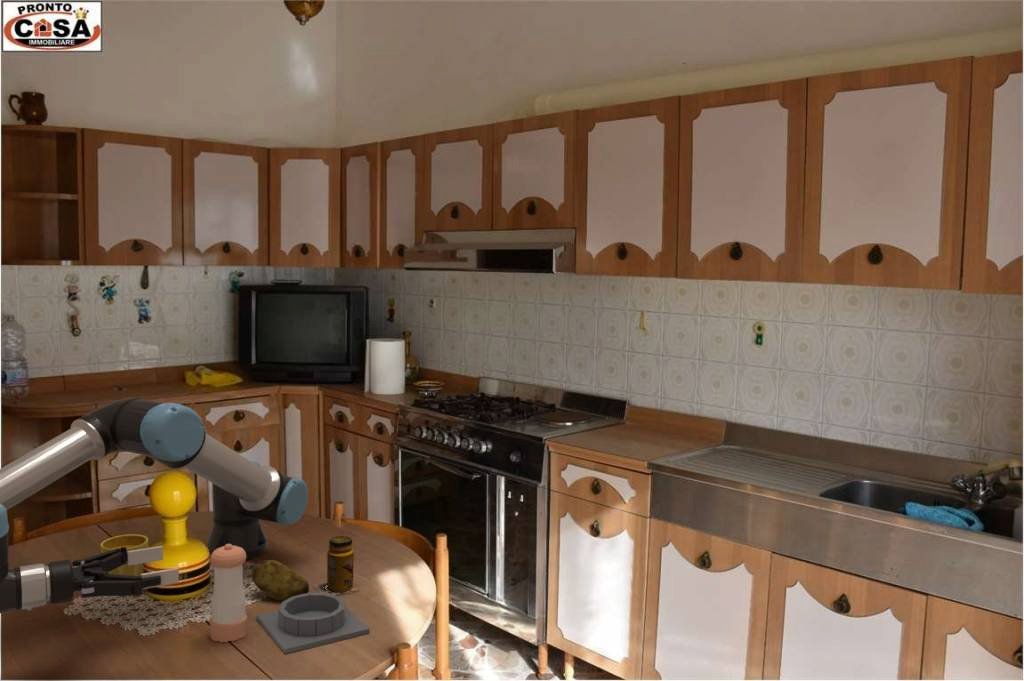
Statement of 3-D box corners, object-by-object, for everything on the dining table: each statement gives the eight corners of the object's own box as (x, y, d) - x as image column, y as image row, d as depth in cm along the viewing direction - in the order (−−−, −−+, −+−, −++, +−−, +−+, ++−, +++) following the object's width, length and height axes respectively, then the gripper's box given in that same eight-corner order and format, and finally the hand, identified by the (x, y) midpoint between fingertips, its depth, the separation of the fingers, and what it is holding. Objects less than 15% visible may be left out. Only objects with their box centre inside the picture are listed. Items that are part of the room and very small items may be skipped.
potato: (287, 610, 188) (287, 575, 187) (245, 596, 194) (245, 562, 193) (313, 597, 195) (313, 563, 194) (272, 584, 201) (272, 551, 200)
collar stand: (256, 619, 183) (256, 599, 182) (335, 601, 193) (336, 582, 192) (285, 654, 168) (285, 632, 167) (369, 633, 178) (369, 612, 177)
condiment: (359, 590, 199) (360, 541, 198) (324, 598, 195) (325, 547, 193) (347, 580, 205) (347, 531, 204) (313, 586, 201) (313, 537, 199)
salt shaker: (202, 638, 173) (201, 547, 171) (226, 623, 180) (226, 536, 178) (231, 645, 171) (230, 553, 169) (254, 630, 177) (254, 541, 175)
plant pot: (91, 584, 198) (90, 543, 197) (129, 569, 207) (128, 530, 206) (121, 593, 193) (120, 552, 192) (159, 578, 202) (158, 539, 201)
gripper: (40, 580, 166) (156, 561, 178) (55, 630, 145) (185, 605, 157) (40, 543, 165) (156, 526, 177) (54, 587, 144) (185, 565, 156)
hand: (170, 563), depth 167 cm, fingers open, 13 cm apart
